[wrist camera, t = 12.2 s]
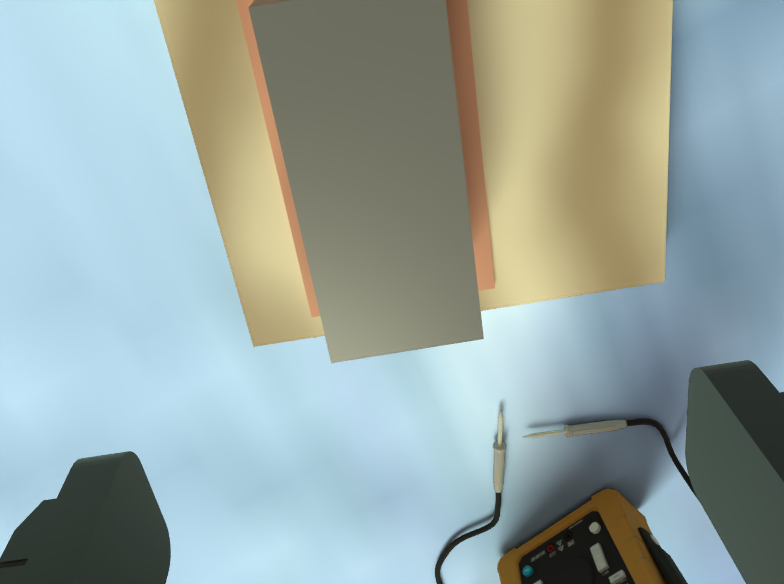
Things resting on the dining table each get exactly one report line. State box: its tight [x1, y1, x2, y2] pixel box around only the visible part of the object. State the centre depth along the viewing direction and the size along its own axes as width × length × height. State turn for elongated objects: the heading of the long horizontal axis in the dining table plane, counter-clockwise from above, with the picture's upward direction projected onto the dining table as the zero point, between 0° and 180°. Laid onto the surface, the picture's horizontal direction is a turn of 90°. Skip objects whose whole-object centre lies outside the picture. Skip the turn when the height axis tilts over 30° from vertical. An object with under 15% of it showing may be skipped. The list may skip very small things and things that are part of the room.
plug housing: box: [248, 0, 484, 363], centre depth 23 cm, size 5×11×5 cm, turn 9°
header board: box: [154, 0, 673, 347], centre depth 24 cm, size 16×15×5 cm
